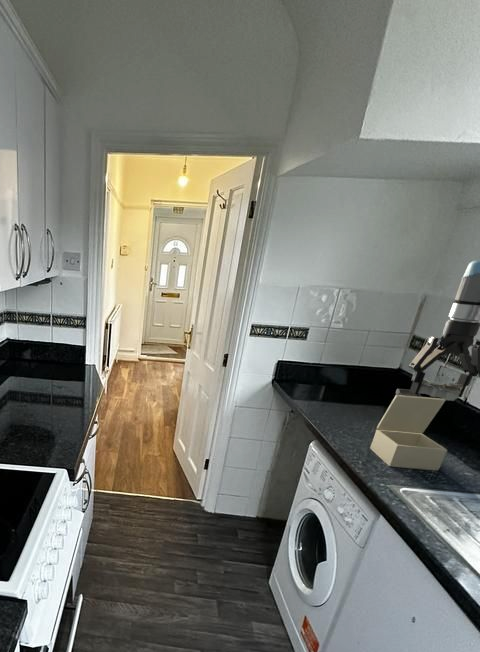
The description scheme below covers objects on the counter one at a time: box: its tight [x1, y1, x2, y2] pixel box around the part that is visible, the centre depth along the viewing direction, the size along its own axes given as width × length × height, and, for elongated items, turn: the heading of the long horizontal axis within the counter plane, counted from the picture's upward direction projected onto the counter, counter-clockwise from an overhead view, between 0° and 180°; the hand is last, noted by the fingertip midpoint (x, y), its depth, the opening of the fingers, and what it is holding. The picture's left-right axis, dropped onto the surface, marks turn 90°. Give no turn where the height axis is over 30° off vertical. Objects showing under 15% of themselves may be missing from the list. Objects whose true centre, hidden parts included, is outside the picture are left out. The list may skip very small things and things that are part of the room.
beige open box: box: [369, 429, 448, 471], centre depth 144 cm, size 14×16×8 cm
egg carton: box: [418, 380, 463, 402], centre depth 123 cm, size 11×8×4 cm
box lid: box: [376, 388, 446, 434], centre depth 146 cm, size 14×16×8 cm
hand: (435, 394), depth 124 cm, fingers closed on egg carton, 12 cm apart
